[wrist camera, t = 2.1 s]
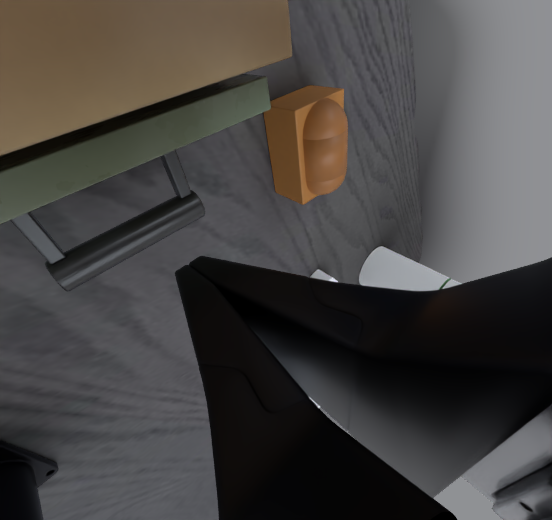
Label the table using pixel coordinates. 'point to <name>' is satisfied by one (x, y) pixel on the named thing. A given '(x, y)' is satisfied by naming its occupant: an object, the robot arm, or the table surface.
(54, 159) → the drawer
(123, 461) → the table surface
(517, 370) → the robot arm
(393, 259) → the cylindrical container
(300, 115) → the bread loaf
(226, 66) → the cabinet
